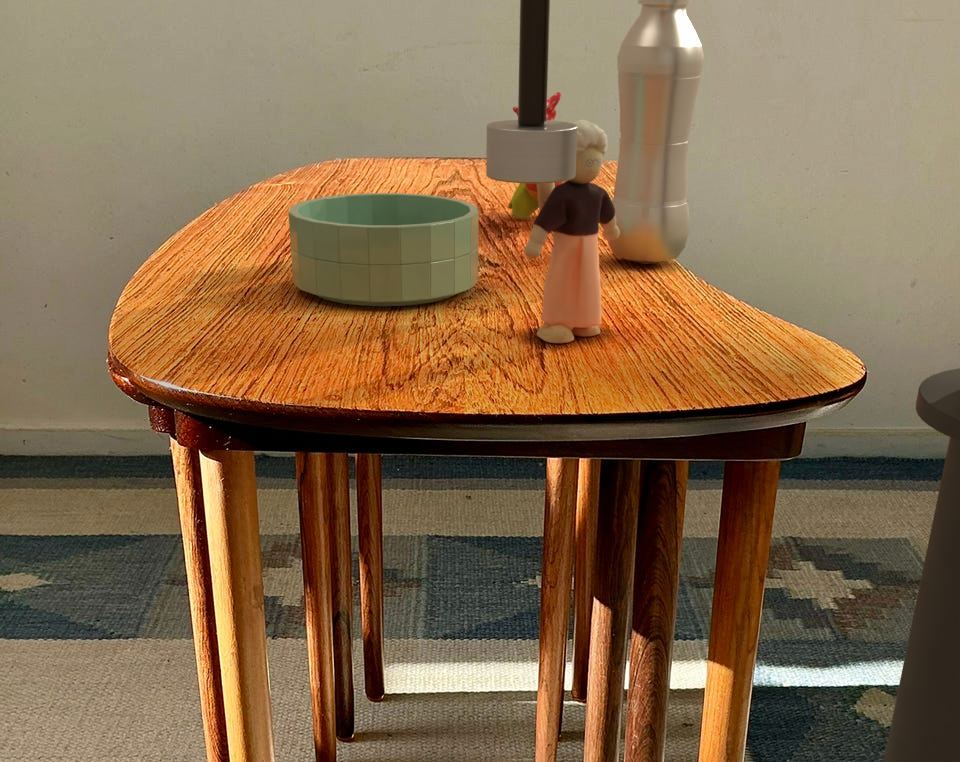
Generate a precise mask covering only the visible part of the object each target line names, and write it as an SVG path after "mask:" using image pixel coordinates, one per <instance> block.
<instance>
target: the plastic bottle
mask: <svg viewBox="0 0 960 762" xmlns="http://www.w3.org/2000/svg"><path fill="white" fill-rule="evenodd" d="M637 4H638V5H641V10H640V14H639V16H638V17H637V18H636V20H635V21H634V22H633V24H632V25H631V27H630V28H629V30H628V31H627V33H626V34H625V36H624V38H623V40H622V42H621V43H620V47H619V50H618V53H617V55H616V56H617V57H616V62H617V64H616V68H617V72H618V74H617V85H618V99H619V100H618V101H619V133H620V138H619V150H618V151H619V152H618V159H617V166H616V175H615V182H614V189H613V198H612V199H611V201H612V203H613V205H614V208H615V217H616V225H617V227H618V228H619V231H620V234H619V237H618V238H617V239H616V240H613V241H608V240H607V244H608V247H609V248H610V250H611V252H612V255H614V256H615V257H617V258H620V259H624V260H628V261H630V262H636V263H639V264H645V265H646V264H647V265H648V264H653V263H654V264H655V263H661V262H665V261H671V260H675V259H677V258H678V257H680V255H681V254H682V252H683V251H684V249H685V248H686V244H687V241H688V236H689V233H690V232H689V231H690V209H689V202H688V199H687V197H688V155H689V153H688V152H689V146H690V140H689V139H690V135H691V132H692V124H693V123H692V122H693V115H694V109H695V105H696V101H697V96H698V92H699V86H700V82H701V77H702V76H701V73H702V72H703V66H704V60H705V59H704V58H705V56H704V51H703V44H702V42H701V40H700V37H699V36H698V34H697V31H696V29H695V27H694V25H693V24H692V22H691V20H690V19H689V16H688V15H687V6H688V5H691V4H692V0H637Z"/></svg>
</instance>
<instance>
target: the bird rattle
mask: <svg viewBox="0 0 960 762" xmlns="http://www.w3.org/2000/svg"><path fill="white" fill-rule="evenodd" d="M562 97H563V96H562V93H561V92H560V91H558V92H556V93H554V94H553V95H551V96H550V97H548V98H547V115H546V120H550V121H555V118H556V116H557V110H556V109H555V108H556V107H557V106H558V104H559V102H560V101H561V98H562ZM512 111H513V113H515V114H516V115H517V117H518V106H513V107H512ZM564 182H566V181H564ZM564 182H556V183H539V184H530V183H518V186H517V187H516V189H515V191H514V193H513V195H512V197H511V199H510V201H509V203H508V206H507V207H508V209H510V210H511V212H512V213H511V214H512V216H513V217H514V218H515V220H519V221H525V220H527V219H528V218H530V216H531V215H532V214H534V213H535V212H536V211H537V210H538V211H539V212H540V211H541V209H542V207H543V206H544V204H545V202H546V200H547V199H548V197H549V195H550V194H551V192H552V191H553V189H554V188H555V186H558V185H560V184H562V183H564ZM539 212H538V213H539Z"/></svg>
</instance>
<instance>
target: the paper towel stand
mask: <svg viewBox="0 0 960 762" xmlns="http://www.w3.org/2000/svg"><path fill="white" fill-rule="evenodd" d="M519 5H520V6H519V39H518V40H519V44H518V46H519V49H518V94H517V95H518V97H517V98H518V100H517V107H518V116H517V119H511V120H509V119H507V120H498V121H493V122H489V123H487V125H486V156H485V157H486V158H485V161H486V163H485V166H486V170H485V171H486V172H485V173H486V174H485V175H486V178H488V179H490V180H493V181H497V182H503V183H504V182H505V183H513V184H520V183H530V184H539V183H556V182H564V181H568V180H571V179H573V178H575V174H576V149H577V125H575V124H573V123H574V122H568V121H562V120H561V121H560V120H553V121H550V120H546V115H547V100H548V79H549V78H548V77H549V74H548V73H549V45H550V43H549V42H550V11H551V0H519Z"/></svg>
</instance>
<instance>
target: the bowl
mask: <svg viewBox="0 0 960 762" xmlns="http://www.w3.org/2000/svg"><path fill="white" fill-rule="evenodd" d="M479 221H480V212H479V209H478V206H476V205H475V204H473V203H470V202H468V201H466V200H463V199H462V200H461V199H457V198H453V197H448V196H439V195H432V194H424V193H423V194H422V193H421V194H420V193H405V192H404V193H403V192H398V193H397V192H367V193H349V194H347V193H346V194H337V195H329V196H320V197H316V198H312V199H308V200H303V201H300V202H298V203H295V204H294V205H291V206H290V208H289V210H288V226H289V240H290V241H289V242H290V254H291V255H290V257H291V272H292V283H293V284H294V286H295V287H297V288H298V289H299V290H300V291H302V292H306V293H309V294H312V295H315V296H316V297H319V298H321V299H324V300H326V301H330V302H334V303H339V304H345V305H352V306H363V307H366V306H367V307H405V306H416V305H423V304H424V305H425V304H430V303H431V304H432V303H436V302H439V301H443V300H447V299H449V298H452V297H453V296H456V295H457V294H460V293H463V292H466V291H468V290H471V289H472V288H473V287H474V286H476V284H478V282H479V238H480V237H479V236H480V235H479V231H480V228H479V227H480V223H479Z"/></svg>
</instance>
